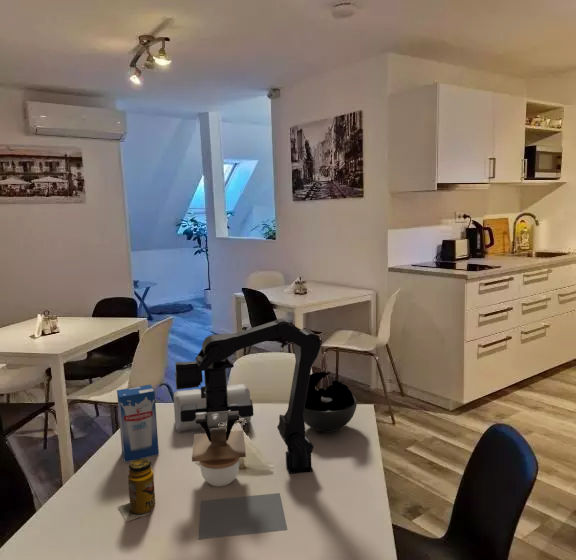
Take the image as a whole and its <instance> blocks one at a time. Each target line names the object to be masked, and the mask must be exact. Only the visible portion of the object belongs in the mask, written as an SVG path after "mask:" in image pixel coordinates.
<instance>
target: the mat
mask: <svg viewBox="0 0 576 560" xmlns="http://www.w3.org/2000/svg"><path fill="white" fill-rule="evenodd" d="M199 506H200V507H199V508H200V509H199V521H198V537H197V538H198V539H197V540H205V539H215V538H216V539H217V538H226V537H232V536H233V537H235V536H243V535H253V534H262V533H271V532H272V533H273V532H280V531H287V530H288V526H287V520H286V517H285V510H284V506H283V500H282V496H281V492H279V493H278V492H276V493H275V492H274V493H267V494H266V493H265V494H257V495H246V496H236V497H234V496H233V497H227V498H226V497H225V498H217V499H206V500H200V504H199Z"/></svg>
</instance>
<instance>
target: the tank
mask: <svg viewBox="0 0 576 560" xmlns="http://www.w3.org/2000/svg"><path fill="white" fill-rule="evenodd" d="M227 393H228V405H231V404H238V400H241V399H251V391H250V389H249V386H248V385H247V384H246V383H238V384H230V385H228V384H227ZM189 403H196V404H197V407H206V398H201V389H199V388H196V389H195V388H192V389H183V390H177V391H175V392H174V393H173V406H174V407H173V411H174V422H175V423H174V425H175V431H176V432H177V433H183V432H191V431H197V430H198V431H200V430H204V429H203V428H202V426H201V425H200V424H196V418H195V420H194V421H189V422H182V421H181V416H180V412H181V407H182V405H183V404H189ZM227 415H228V413H216V414H208V420H209V426H210V429H211V428H219V427H218V424H219V423H221V422H226V421H227ZM251 417H252V416H251ZM251 417H241V416H240V415H239V418H245V420H246V422H247V423H246V424H249V423H250V422H251V420H252V418H251Z"/></svg>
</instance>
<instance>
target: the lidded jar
mask: <svg viewBox="0 0 576 560" xmlns="http://www.w3.org/2000/svg"><path fill="white" fill-rule="evenodd" d="M199 466H200V467H199V468H200V473H201V475H202V478H203V479H204V481H206V483H207V484H209V485H211V486H212V487H224V486H228V485H229V484H230V483H232V482H233V481H234V480H235V479H236V477H237V476H238V473H239V470H240V458H229V459H218V460H207V461H199Z"/></svg>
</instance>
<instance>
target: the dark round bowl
mask: <svg viewBox="0 0 576 560" xmlns="http://www.w3.org/2000/svg"><path fill="white" fill-rule="evenodd" d="M330 374H331V372H325V371H320V372H318V371H317V372H314V373H310V379H309V385H308V390H307V396H306V402H305V408H304V415H303V416H304V423H305V425H306V426H308V427H310V428H311V429H313V430H316V431H317V432H324V433H327V432H329V433H331V432H334V431H337V430H340V429H343V428H344V427H346V425H348V423H350V421H351V420H352V418H353V416H354V415H355V413H356V410H357V406H358V405H357V404H358V400H357V398H356V397H355V396H354V394H353V392H352V391H351V390H350V389H349V387H348V386H347V385H346V384H344V383H342V382H341V381H338V380H332V381H331V385H328V386H327V387H326V388H324V387H319V388H318V389H317V385H318V384H319V382H321V380H322V379H324V378H326V377H327V376H328V375H330Z"/></svg>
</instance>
